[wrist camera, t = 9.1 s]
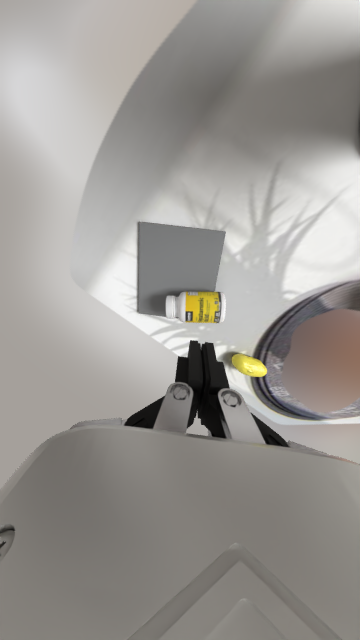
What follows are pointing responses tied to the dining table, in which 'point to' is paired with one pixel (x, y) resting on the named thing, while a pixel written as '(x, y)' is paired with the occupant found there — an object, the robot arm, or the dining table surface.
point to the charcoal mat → (175, 263)
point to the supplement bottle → (197, 307)
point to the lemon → (249, 365)
